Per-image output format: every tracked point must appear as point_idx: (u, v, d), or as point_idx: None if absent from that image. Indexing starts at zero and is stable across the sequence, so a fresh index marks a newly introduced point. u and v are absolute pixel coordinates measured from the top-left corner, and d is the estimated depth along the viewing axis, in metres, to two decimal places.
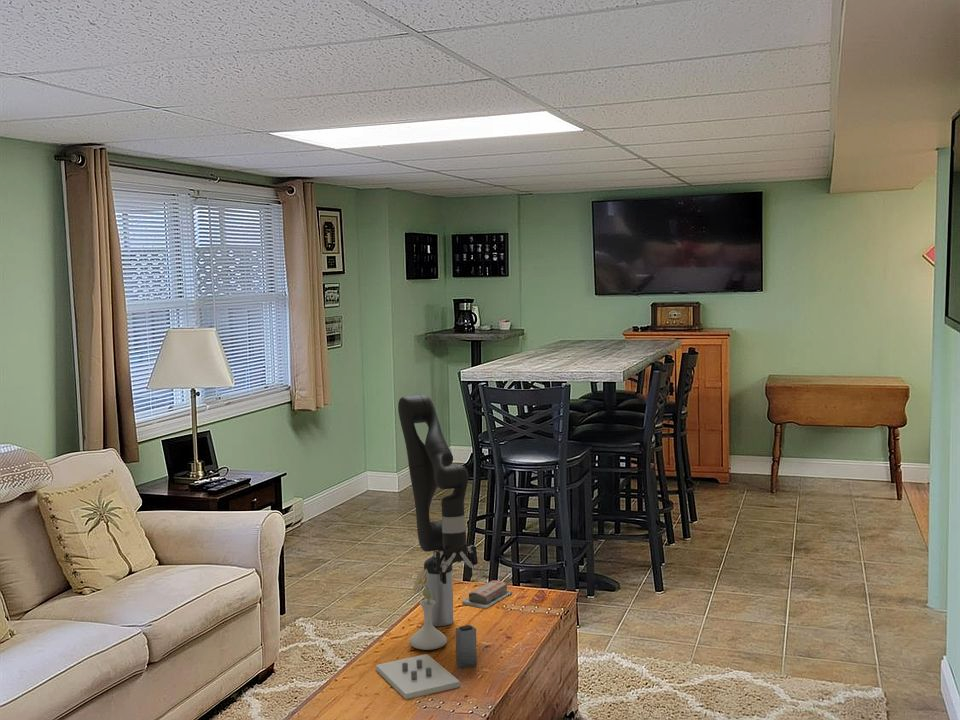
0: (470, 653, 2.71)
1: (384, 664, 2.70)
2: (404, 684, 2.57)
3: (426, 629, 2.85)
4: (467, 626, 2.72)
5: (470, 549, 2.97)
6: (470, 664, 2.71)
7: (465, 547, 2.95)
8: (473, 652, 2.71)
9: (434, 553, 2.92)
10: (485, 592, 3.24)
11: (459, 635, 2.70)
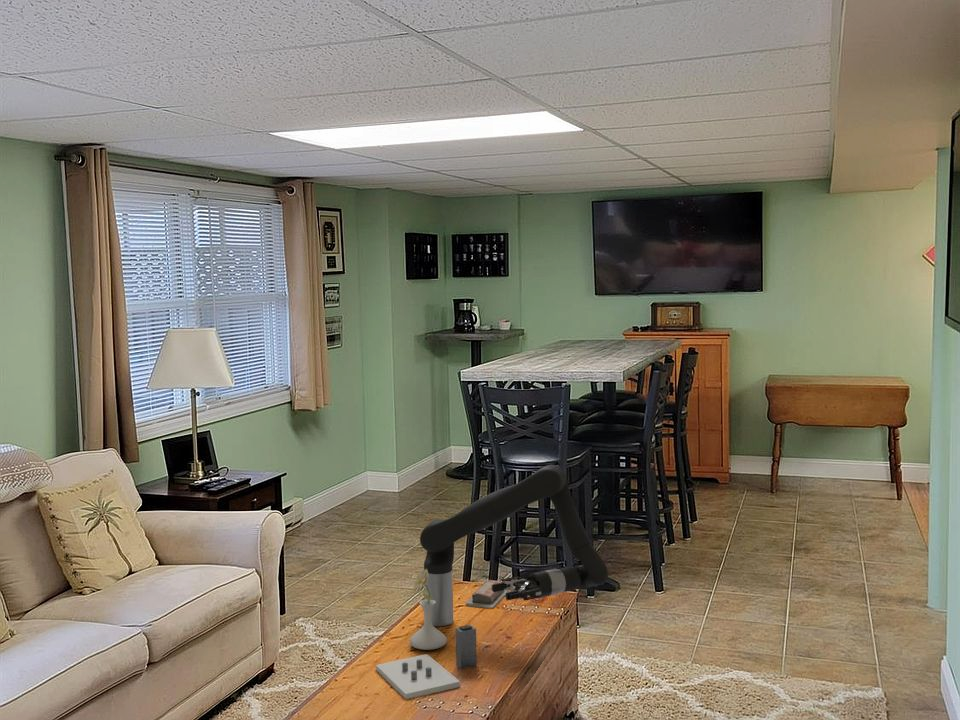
0: (470, 653, 2.71)
1: (384, 664, 2.70)
2: (404, 684, 2.57)
3: (426, 629, 2.85)
4: (467, 626, 2.72)
5: None
6: (470, 664, 2.71)
7: None
8: (473, 652, 2.71)
9: (539, 591, 2.74)
10: (488, 592, 3.24)
11: (459, 635, 2.70)
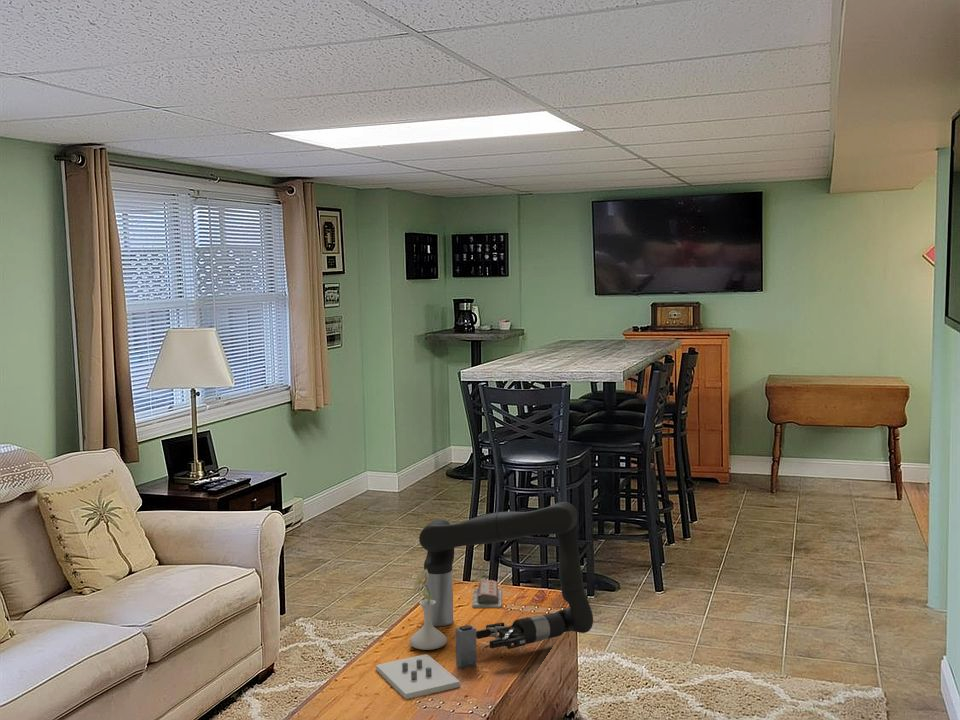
0: (470, 653, 2.71)
1: (384, 664, 2.70)
2: (404, 684, 2.57)
3: (426, 629, 2.85)
4: (467, 626, 2.72)
5: None
6: (470, 664, 2.71)
7: None
8: (473, 652, 2.71)
9: (523, 640, 2.73)
10: (492, 592, 3.25)
11: (459, 635, 2.70)
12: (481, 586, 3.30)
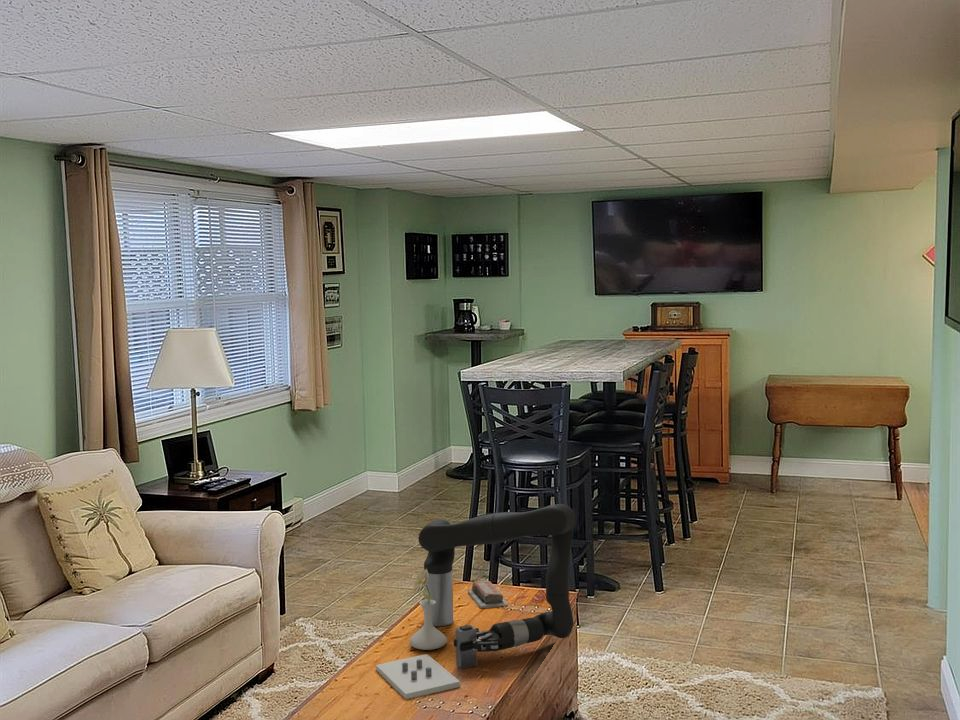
0: (470, 653, 2.71)
1: (384, 664, 2.70)
2: (404, 684, 2.57)
3: (426, 629, 2.85)
4: (467, 626, 2.72)
5: None
6: (470, 664, 2.71)
7: None
8: (473, 652, 2.71)
9: (495, 645, 2.69)
10: (496, 591, 3.25)
11: (459, 635, 2.70)
12: (480, 587, 3.29)
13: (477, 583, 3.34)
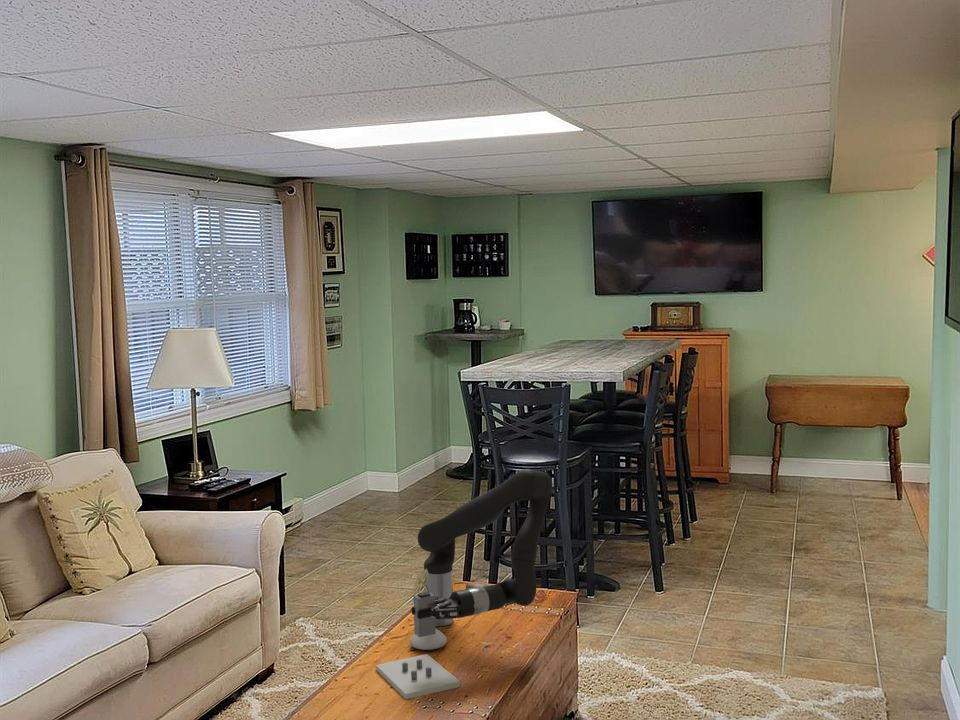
0: (428, 620, 2.63)
1: (384, 664, 2.70)
2: (404, 684, 2.57)
3: None
4: (425, 593, 2.64)
5: None
6: (428, 632, 2.63)
7: None
8: (432, 620, 2.63)
9: (454, 612, 2.61)
10: None
11: (417, 602, 2.62)
12: None
13: (473, 585, 3.32)
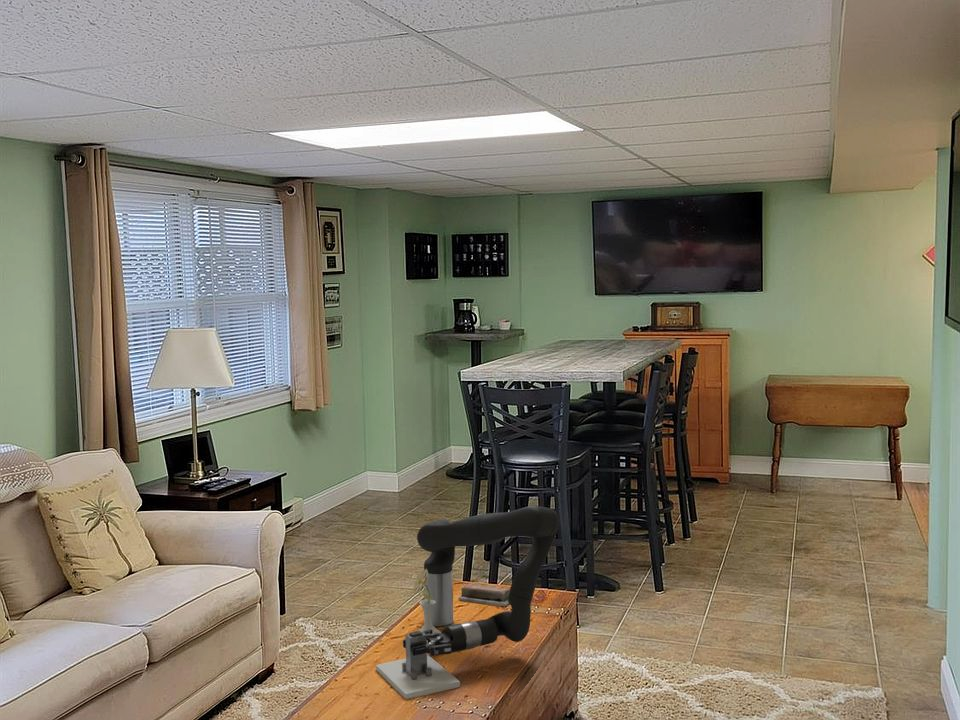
0: (420, 660, 2.63)
1: (384, 664, 2.70)
2: (404, 684, 2.57)
3: (426, 629, 2.85)
4: (417, 632, 2.63)
5: None
6: (420, 671, 2.63)
7: None
8: (423, 659, 2.63)
9: (448, 648, 2.61)
10: (501, 588, 3.29)
11: (409, 641, 2.61)
12: (482, 589, 3.27)
13: (470, 587, 3.29)
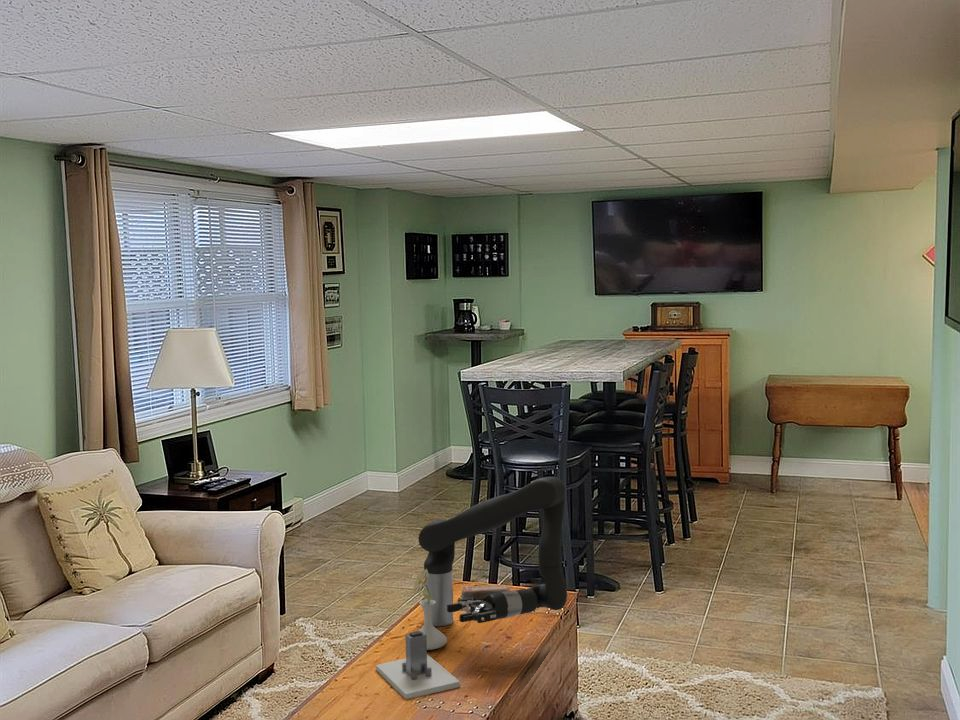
0: (420, 660, 2.63)
1: (384, 664, 2.70)
2: (404, 684, 2.57)
3: (426, 629, 2.85)
4: (417, 632, 2.63)
5: None
6: (420, 671, 2.63)
7: None
8: (423, 659, 2.63)
9: (494, 614, 2.70)
10: (499, 586, 3.31)
11: (409, 641, 2.61)
12: (485, 589, 3.27)
13: (472, 590, 3.26)
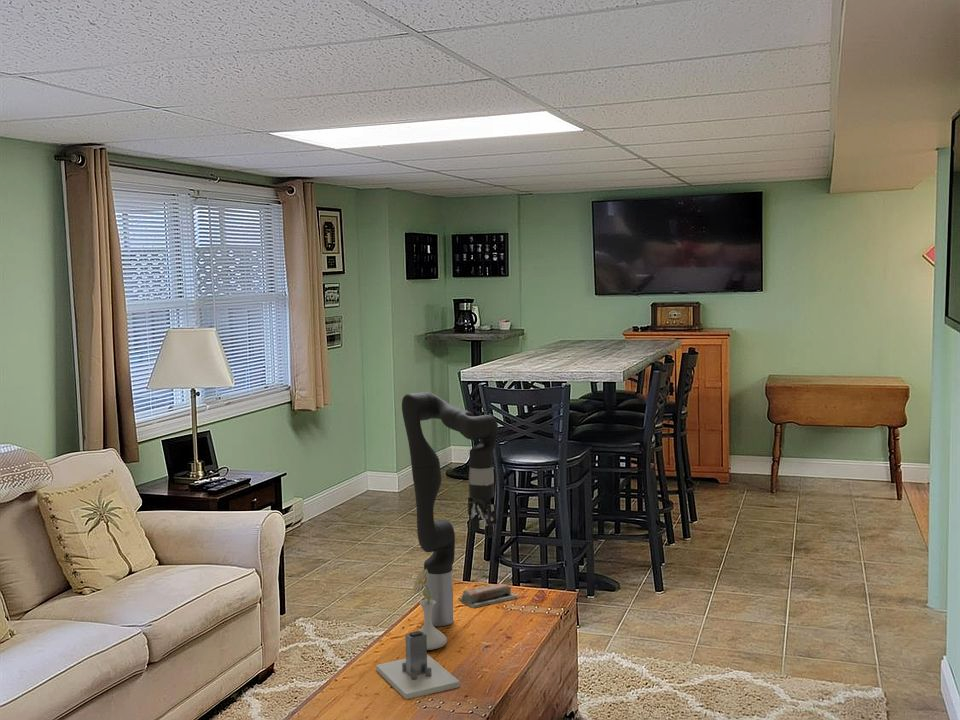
0: (420, 660, 2.63)
1: (384, 664, 2.70)
2: (404, 684, 2.57)
3: (426, 629, 2.85)
4: (417, 632, 2.63)
5: None
6: (420, 671, 2.63)
7: None
8: (423, 659, 2.63)
9: (491, 507, 2.79)
10: None
11: (409, 641, 2.61)
12: (488, 589, 3.26)
13: (477, 592, 3.24)
